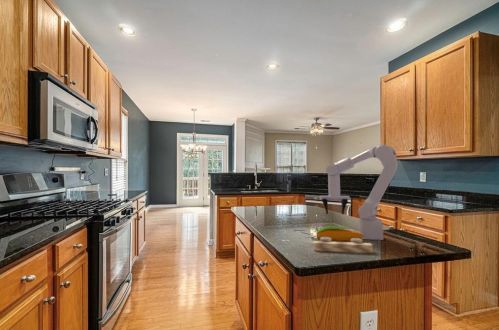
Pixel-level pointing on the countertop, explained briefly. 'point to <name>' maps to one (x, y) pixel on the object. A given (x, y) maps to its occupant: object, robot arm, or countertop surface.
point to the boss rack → (343, 246)
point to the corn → (338, 234)
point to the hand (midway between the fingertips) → (334, 213)
